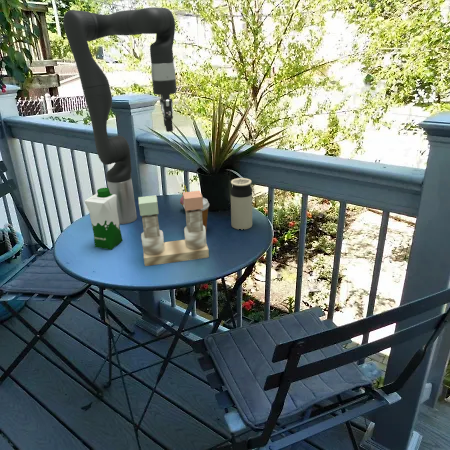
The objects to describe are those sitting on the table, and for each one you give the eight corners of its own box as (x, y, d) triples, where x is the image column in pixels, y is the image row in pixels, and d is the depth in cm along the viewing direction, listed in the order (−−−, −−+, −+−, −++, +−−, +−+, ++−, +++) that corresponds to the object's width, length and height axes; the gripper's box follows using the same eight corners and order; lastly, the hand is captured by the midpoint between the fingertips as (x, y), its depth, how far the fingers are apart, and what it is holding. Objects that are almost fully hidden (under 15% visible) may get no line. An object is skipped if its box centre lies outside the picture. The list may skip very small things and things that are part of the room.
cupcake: (184, 216, 163) (182, 188, 157) (178, 208, 170) (175, 181, 164) (204, 212, 166) (202, 184, 160) (197, 204, 173) (195, 178, 167)
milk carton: (126, 239, 146) (118, 188, 137) (111, 251, 138) (102, 198, 129) (106, 236, 149) (96, 186, 140) (90, 248, 141) (79, 195, 132)
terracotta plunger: (187, 230, 129) (184, 198, 124) (185, 223, 134) (182, 192, 129) (204, 228, 130) (202, 196, 125) (201, 221, 135) (199, 190, 130)
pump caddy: (144, 266, 129) (138, 221, 122) (144, 252, 137) (138, 209, 130) (209, 257, 133) (206, 213, 126) (204, 244, 141) (201, 202, 134)
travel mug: (252, 230, 150) (252, 184, 142) (231, 230, 150) (230, 185, 142) (251, 220, 157) (251, 177, 149) (231, 221, 157) (230, 177, 149)
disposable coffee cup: (207, 237, 145) (205, 207, 140) (182, 236, 147) (179, 206, 142) (213, 226, 154) (211, 197, 148) (189, 224, 155) (187, 196, 150)
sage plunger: (143, 236, 126) (138, 203, 121) (142, 228, 131) (138, 197, 126) (161, 233, 127) (157, 201, 122) (159, 226, 132) (156, 195, 127)
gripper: (177, 79, 123) (181, 132, 130) (173, 75, 136) (177, 123, 143) (153, 81, 122) (158, 134, 129) (151, 76, 134) (156, 125, 141)
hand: (168, 128), depth 136 cm, fingers open, 8 cm apart
